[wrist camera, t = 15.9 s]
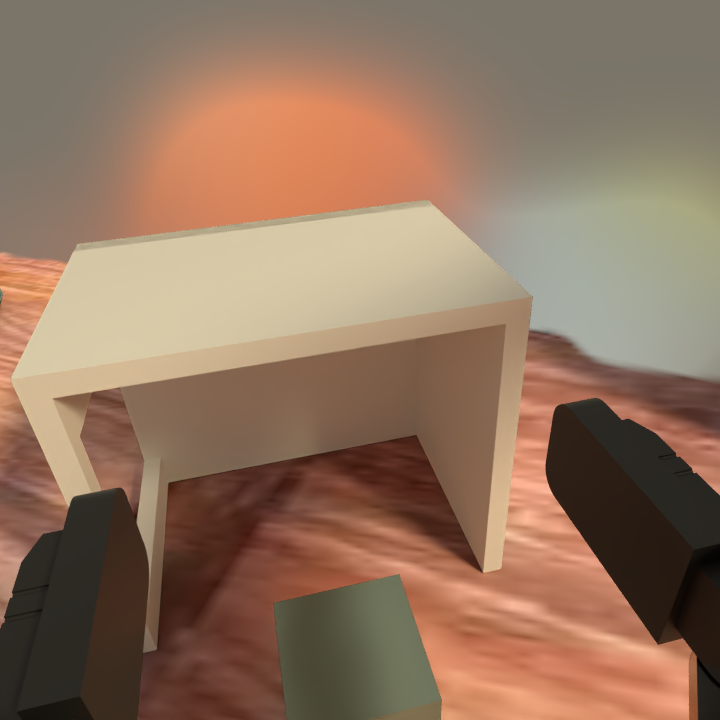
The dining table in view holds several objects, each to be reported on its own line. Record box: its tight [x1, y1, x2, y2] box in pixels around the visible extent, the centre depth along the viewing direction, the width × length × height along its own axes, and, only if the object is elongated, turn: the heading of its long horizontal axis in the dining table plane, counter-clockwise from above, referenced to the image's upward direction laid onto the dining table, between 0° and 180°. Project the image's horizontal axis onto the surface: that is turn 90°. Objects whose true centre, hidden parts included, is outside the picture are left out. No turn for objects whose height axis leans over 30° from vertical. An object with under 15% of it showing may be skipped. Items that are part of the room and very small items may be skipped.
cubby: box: [10, 200, 533, 653], centre depth 37 cm, size 22×15×19 cm
